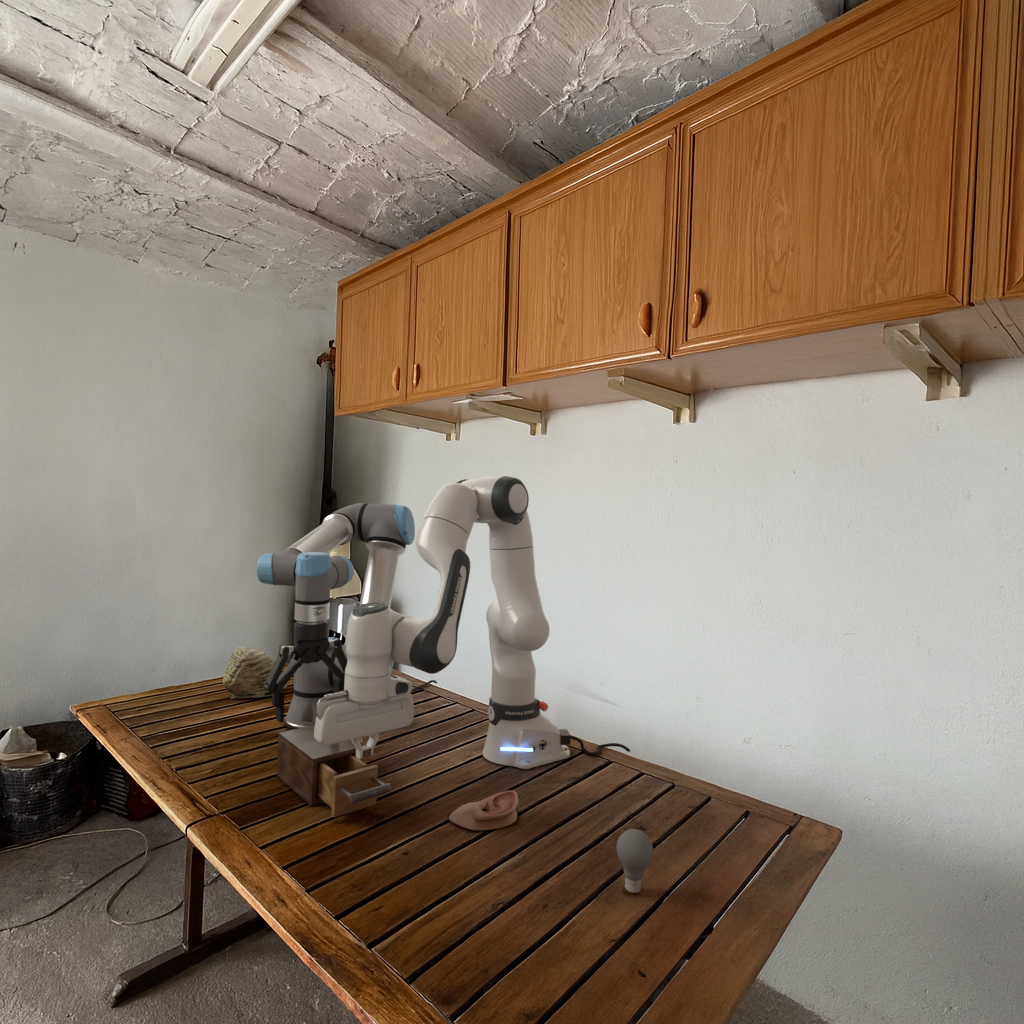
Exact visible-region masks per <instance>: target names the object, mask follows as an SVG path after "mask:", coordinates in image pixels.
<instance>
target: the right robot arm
mask: <svg viewBox="0 0 1024 1024" xmlns="http://www.w3.org/2000/svg"><path fill="white" fill-rule="evenodd" d="M529 499H530V498H529V493H528V489H527V487H526V485H525V484H524V483H523V481H522V480H521V479H519V478H517V477H514V476H509V475H503V476H492V475H491V476H490V475H489V476H488V475H487V476H482V477H476V478H470V479H467V478H466V479H461V480H457V481H456V482H449V483H446V484H444V485H443V486H441V488H439V490H438V491H437V493H436V494H435V496H434V497H433V499H432V501H430V504H429V506H428V508H427V510H426V512H425V514H424V516H423V519H422V521H421V522H420V525H419V527H418V530H417V533H416V536H415V547H416V550H417V553H418V555H419V556H420V557H421V558H422V560H423V561H424V562H425V563H427V565H429V566H430V567H432V568H433V569H435V570H436V571H437V572H438V573H439V576H440V584H439V589H438V593H437V597H436V601H435V605H434V610H433V613H432V615H431V617H430V618H427V619H423V618H417V617H413V616H410V615H409V616H408V615H405V614H402V613H400V612H397V611H395V610H393V609H392V608H391V606H390V607H389V605H387V604H385V603H381V602H373V603H365V604H362V605H360V604H359V605H357V606H356V607H355V608H353V609H352V610H351V612H350V615H349V618H348V622H347V627H346V635H345V636H346V637H345V645H346V654H347V665H346V668H345V681H344V691H341V692H337V693H333V694H326V695H324V697H323V698H321V699H320V700H319V701H318V702H317V706H316V714H317V717H316V722H315V729H314V738H315V739H316V741H317V742H319V743H320V744H322V745H323V746H327V745H332V744H336V743H340V742H344V741H348V740H349V741H351V742H352V743H353V745H354V746H355V748H356V757H357V758H358V759H359V760H362V759H365V758H370V757H373V756H374V751H375V750H374V748H375V747H376V746H377V743H378V741H379V740H380V734H381V733H384V732H389V731H393V730H397V729H402V728H406V727H410V726H411V724H412V723H413V721H414V717H415V715H414V714H415V701H414V697H413V695H412V692H411V691H412V689H413V682H411V681H409V680H407V678H403V677H402V676H398V675H395V674H392V673H391V668H390V664H391V663H393V662H394V663H397V664H400V665H404V666H408V667H411V668H415V669H416V670H419V671H421V672H424V673H427V674H430V675H433V674H438V673H441V671H443V670H444V669H446V668H447V667H448V666H449V665H450V664H451V663H452V662H453V659H454V658H455V656H456V652H457V648H458V635H459V626H460V620H461V617H462V612H463V609H464V603H465V598H466V594H467V590H468V585H469V581H470V580H469V579H470V575H471V560H470V556H469V555H468V554H467V545H468V541H469V538H470V536H471V533H472V531H473V527H474V524H475V523H476V524H487V526H488V528H489V529H488V530H489V531H488V532H489V533H488V548H489V562H490V563H489V564H490V578H491V582H492V585H493V588H494V590H495V594H496V595H495V596H496V599H495V600H493V601H492V602H491V603H490V604H489V606H488V607H487V610H486V613H485V615H486V616H485V618H486V619H485V620H486V623H487V624H486V625H487V628H488V637H489V638H488V640H489V649H490V657H491V690H490V691H491V692H490V697H489V699H488V700H489V701H488V709H487V711H488V713H487V715H488V727H487V732H486V737H485V742H484V745H483V748H482V750H481V751H482V752H481V755H482V756H483V757H484V759H486V761H487V760H488V761H489V762H491V763H494V764H497V765H502V766H508V767H515V768H518V769H521V770H529V769H534V768H537V767H540V766H543V765H547V764H551V763H554V762H558V761H561V760H562V761H563V760H565V759H569V758H570V757H571V750H570V748H569V747H568V746H570V745H571V741H572V740H574V741H576V742H578V743H579V746H580V750H581V751H582V752H583V753H585V754H586V755H589V756H599V755H601V753H602V752H601V751H602V750H601V749H603V748H608V747H617V748H621V749H623V750H625V751H626V752H629V753H630V752H631V749H630V748H629V747H628V746H626V745H624V744H623V743H618V742H610V743H603V744H599V745H597V747H596V751H589V750H588V749H586V748H585V745H584V742H583V740H582V739H581V738H579V737H576V736H574V735H571V734H570V732H569V730H568V729H563V728H562V729H559V727H558V726H557V725H556V724H555V723H554V722H553V721H551V720H550V719H549V718H548V717H547V716H545V715H544V714H543V713H541V711H542V712H546V711H548V709H549V705H548V703H546V702H545V701H540V700H539V699H538V698H536V675H537V673H536V672H537V669H536V665H535V662H534V658H533V652H534V651H537V650H540V649H541V648H543V646H544V645H546V643H547V641H548V639H549V637H550V624H549V621H548V620H547V617H546V615H545V612H544V608H543V603H542V599H541V594H540V591H539V587H538V582H537V577H536V576H537V575H536V564H535V552H534V538H533V530H532V524H531V521H530V517H529V513H528V507H529V501H530V500H529ZM323 699H324V700H323ZM364 737H369V738H368V740H367V742H366V744H365V745H363V746H362V743H363V739H364Z"/></svg>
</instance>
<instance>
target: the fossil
mask: <svg viewBox="0 0 1024 1024" xmlns="http://www.w3.org/2000/svg"><path fill="white" fill-rule="evenodd" d="M274 663H275V660H273V659H272V658H271V657H270V656H269V655H268V654H267V653H266V652H265V650H264V649H263V648H260V647H258V648H251V647H247V646H246V647H245V646H238V647H237V648H236V649H235V650H233V651H232V653H231V656H230V657H229V659H228V660H227V663H226V666H225V668H224V671H223V675H222V676H223V677H222V685H223V687H224V688H225V690H226V691H228V693H229V698H230V699H250V698H264V697H272V692H269V691H267V690H266V689H264V687H263V686H264V683H265V681H266V679H267V677H268V675H269V673H270V671H271V669H272V667H273V665H274ZM281 674H282V672H281ZM281 674H280V675H281ZM287 687H288V686H287V684H286V685H285V686H284V688H283V689H282V691H283V692H285V691H286V689H287Z"/></svg>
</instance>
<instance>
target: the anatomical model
mask: <svg viewBox="0 0 1024 1024" xmlns="http://www.w3.org/2000/svg"><path fill="white" fill-rule="evenodd" d="M518 807H519V796H518V793H517V791H515V790H505V791H501V792H498V793H496V794H492V795H490V796H488V797H486V798H483V799H481V800H478V801H475V802H474V801H472V802H467V803H465V804H463V805H461V806H459V807H457V808H456V809H455V810H453V811H452V812H451V813H450V815H449V816H448V820H449V821H450V822H451V823H453V824H455V825H457V826H459V827H462V828H465V829H466V830H467V829H468V830H470V831H489V830H495V829H501V828H504V827H507V826H510V825H513V824H514V823H515V822H516V821H517V819H518V812H517V809H518Z"/></svg>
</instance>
